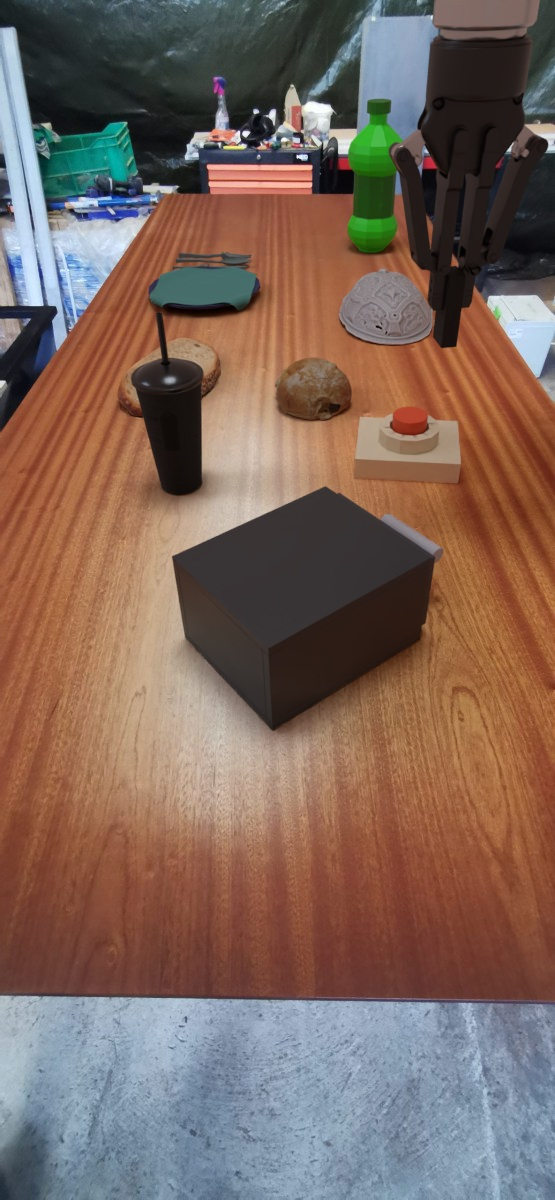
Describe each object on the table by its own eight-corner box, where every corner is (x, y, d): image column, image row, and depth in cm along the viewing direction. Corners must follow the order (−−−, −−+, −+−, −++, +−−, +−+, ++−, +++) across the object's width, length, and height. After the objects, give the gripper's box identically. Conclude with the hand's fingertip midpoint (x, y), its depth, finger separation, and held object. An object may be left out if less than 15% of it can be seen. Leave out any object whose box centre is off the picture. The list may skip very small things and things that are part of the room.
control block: (454, 440, 92) (459, 407, 89) (458, 484, 85) (463, 450, 82) (358, 435, 94) (360, 403, 91) (353, 478, 86) (355, 445, 83)
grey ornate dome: (341, 341, 114) (347, 296, 109) (335, 292, 133) (340, 252, 129) (441, 350, 114) (450, 305, 110) (420, 299, 133) (428, 260, 129)
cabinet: (324, 565, 75) (325, 485, 68) (420, 640, 67) (432, 557, 60) (184, 637, 68) (171, 556, 61) (272, 731, 59) (268, 648, 53)
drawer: (369, 540, 76) (374, 475, 71) (459, 603, 69) (471, 536, 63) (208, 623, 68) (199, 557, 62) (290, 705, 60) (289, 638, 55)
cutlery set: (138, 318, 125) (136, 304, 123) (170, 260, 147) (169, 247, 146) (255, 318, 123) (254, 304, 122) (269, 259, 146) (269, 246, 144)
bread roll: (297, 448, 99) (313, 408, 92) (255, 393, 101) (268, 350, 95) (353, 425, 103) (372, 385, 96) (312, 372, 106) (328, 330, 99)
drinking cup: (227, 482, 87) (213, 312, 73) (176, 510, 83) (151, 335, 69) (186, 459, 91) (165, 293, 77) (136, 484, 87) (105, 314, 73)
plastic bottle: (344, 241, 153) (349, 96, 136) (395, 240, 152) (406, 95, 136) (345, 257, 145) (350, 106, 129) (399, 256, 145) (411, 104, 128)
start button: (426, 420, 88) (427, 407, 87) (426, 437, 85) (428, 423, 84) (392, 419, 88) (393, 405, 87) (391, 435, 85) (392, 422, 84)
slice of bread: (202, 346, 116) (199, 322, 113) (253, 391, 104) (252, 365, 101) (91, 372, 110) (86, 348, 107) (133, 423, 98) (128, 397, 95)
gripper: (545, 23, 58) (495, 321, 74) (384, 32, 57) (368, 332, 73) (588, 31, 53) (525, 351, 68) (410, 42, 51) (387, 364, 67)
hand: (444, 341), depth 71 cm, fingers closed
